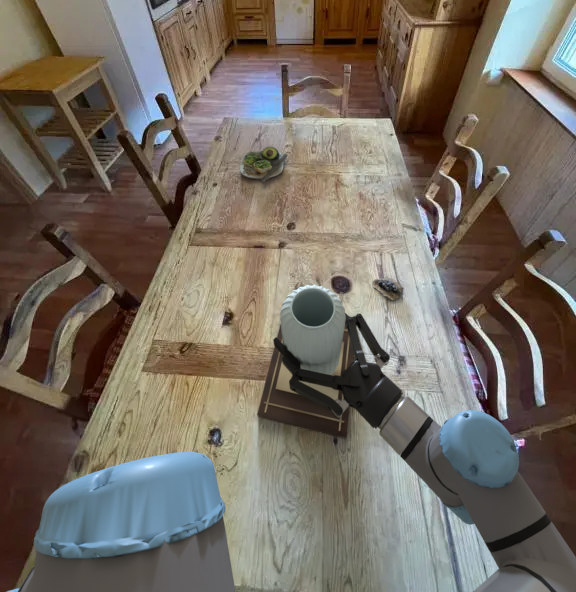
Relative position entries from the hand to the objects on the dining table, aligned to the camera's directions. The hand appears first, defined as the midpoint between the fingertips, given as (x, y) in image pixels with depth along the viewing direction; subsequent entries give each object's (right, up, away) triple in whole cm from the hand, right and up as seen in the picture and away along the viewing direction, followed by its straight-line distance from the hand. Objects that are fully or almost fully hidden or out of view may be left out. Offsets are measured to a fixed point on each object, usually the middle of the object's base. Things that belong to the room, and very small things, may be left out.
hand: (298, 320), depth 67 cm
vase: (+3, -11, +6) cm, 13 cm away
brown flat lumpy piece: (+24, +1, +23) cm, 33 cm away
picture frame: (+3, -14, +9) cm, 17 cm away
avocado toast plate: (-12, +38, +63) cm, 75 cm away
